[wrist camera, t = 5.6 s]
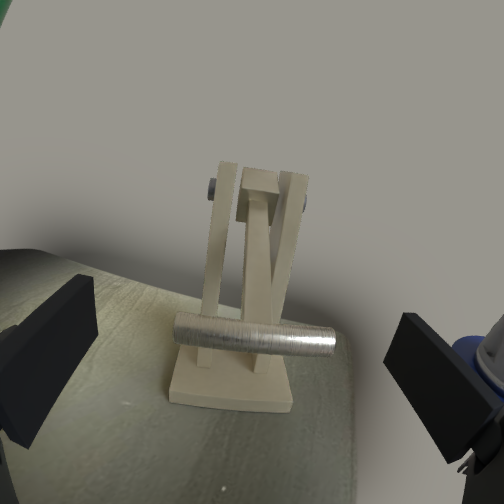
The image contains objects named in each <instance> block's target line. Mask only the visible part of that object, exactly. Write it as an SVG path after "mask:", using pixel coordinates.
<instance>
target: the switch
mask: <svg viewBox="0 0 504 504" xmlns="http://www.w3.org/2000/svg"><path fill="white" fill-rule="evenodd" d="M279 194H280V193H279V185H278V177H277V172H273V171H267V170H261V169H255V168H248V167H244V168H243V172H242V178H241V184H240V190H239V196H238V205H237V214H236V221H238V222H245V223H246V231H245V249H244V266H243V284H242V303H241V320H238V319H230V318H221V317H214V316H206V315H199V314H192V313H185V312H177V314H176V316H175V319H174V325H173V342H174V343H176V344H182V345H188V346H195V347H203V348H210V349H218V350H227V351H236V352H246V353H257V354H269V355H283V356H301V357H330V356H332V355H333V353H334V351H335V347H336V334H335V331H334V329H332V328H328V327H314V326H300V325H288V324H277V323H273V321H272V291H271V264H270V241H269V226H272V222H273V218H274V214H275V210H276V206H277V202H278V198H279Z"/></svg>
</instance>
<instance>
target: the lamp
mask: <svg viewBox="0 0 504 504" xmlns="http://www.w3.org/2000/svg"><path fill="white" fill-rule="evenodd" d="M11 2H12V0H0V27H1V25H2V22H3V20H4V17H5V15H6V13H7V11H8V9H9V6H10V4H11Z"/></svg>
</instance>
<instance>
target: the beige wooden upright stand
mask: <svg viewBox="0 0 504 504" xmlns="http://www.w3.org/2000/svg"><path fill="white" fill-rule="evenodd" d="M236 171H237V163H230V162H224V161H220V162H219V167H218V174H217V179H216V178H211V180H210V183H209V188H208V200H212V201H214V202H213V210H212V217H211V225H210V233H209V242H208V250H207V258H206V267H205V277H204V286H203V297H202V307H201V315H206V316H214V317H217V309H218V300H219V293H220V285H221V277H222V269H223V261H224V254H225V247H226V239H227V232H228V225H229V218H230V210H231V204H232V197H233V191H234V183H235V177H236ZM308 179H309V176H308V175H304V174H298V173H293V172H285V171H280V176H279V182H278V185H279V193H280V194H279V198H278V202H277V206H276V210H275V214H274V218H273V222H272V226H271V228H270V234H269V241H270V264H271V291H272V321H273V323H277V324H279V322H280V317H281V313H282V309H283V304H284V300H285V295H286V291H287V286H288V281H289V277H290V272H291V268H292V262H293V258H294V253H295V248H296V243H297V238H298V232H299V228H300V222H301V217H302V213H303V212H304V210H305V206H306V190H307V185H308ZM169 402H172V403H178V404H184V405H191V406H198V407H206V408H215V409H225V410H236V411H250V412H271V413H289V412H290V410H291V407H292V404H293V398H292V394H291V389H290V385H289V381H288V377H287V372H286V368H285V364H284V360H283V356H282V355H269V354H257V353H246V352H236V351H227V350H218V349H210V348H203V347H195V346H188V345H182V344H181V345H180V349H179V353H178V357H177V360H176V364H175V368H174V372H173V376H172V380H171V384H170V388H169Z"/></svg>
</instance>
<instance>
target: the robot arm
mask: <svg viewBox="0 0 504 504" xmlns="http://www.w3.org/2000/svg"><path fill="white" fill-rule="evenodd" d="M97 336H98V327H97V318H96V308H95V296H94V280H93V277H91V276H86V275H81V274H77V275H76V276H74V277H73V278H72V279H71V280H69V281H68V282H67V283H66V284H65V285H63V286H62V287H61V288H60V289H59V290H57V291H56V292H55V293H54V294H53V295H52V296H50V297H49V298H48V299H47V300H46V301H45V302H44V303H42V304H41V305H40V306H39V307H38V308H37V309H36V310H35V311H33V312H32V313H31V314H30V315H29V316H28V317H27V318H26V319H25V320H24V321H23V322H21V323H20V324H19V325H18V326H17V325H13V326H11V327H9V328H7V329H5V330H3V331H2V332H1V333H0V431H1V429H2V428H3V430H4V431H5V433H6V434H7V436H8V438H9V439H10V440H11V441H13V442H15V443H17V444H19V445H21V446H23V447H24V448H26V449H28V450H29V448H30V446H31V444H32V442H33V440H34V438H35V437H36V435H37V433H38V431H39V429H40V427H41V426H42V424H43V422H44V420H45V419H46V417H47V415H48V413H49V412H50V410H51V408H52V407H53V405H54V403H55V401H56V400H57V398H58V396H59V395H60V393H61V392H62V390H63V388H64V387H65V385H66V383H67V382H68V380H69V379H70V377H71V375H72V374H73V372H74V371H75V369H76V368H77V366H78V365H79V363H80V362H81V360H82V358H83V357H84V355H85V354H86V352H87V351H88V349H89V348H90V346H91V345H92V344H93V342H94V341H95V339H96V338H97ZM383 363H384V364H385V366H386V367H387V369H388V370H389V372H390V373H391V375H392V376H393V378H394V379H395V381H396V382H397V384H398V385H399V387H400V388H401V390H402V391H403V393H404V395H405V396H406V398H407V399H408V401H409V402H410V404H411V405H412V407H413V408H414V410H415V412H416V413H417V415H418V416H419V418H420V419H421V421H422V423H423V424H424V426H425V427H426V429H427V431H428V432H429V434H430V435H431V437H432V439H433V440H434V442H435V444H436V445H437V447H438V449H439V450H440V452H441V454H442V455H443V457H444V459H445V460H446V462H447V464H450V463H452V462H455V461H457V460H459V459H461V458H462V457H463V456H464V455H465V454H466V453H467V451H468V450H469V449H470V448H472V450H473V451H474V452H473V453H472V454H471V456H470V457H469V458H468V459H467V460H466V461H465V462H464V463H463V464H462V465H461V466H460V467H459V468H458V471H457V472H458V473H459V472H460V471H461V470H462V469H463V468H464V467H465V466H468V467H467V468H466V469H465V470H464V471H463V474H466V475H467V476H466V483H465V489H464V495H463V500H462V504H504V403H503V402H502V401H501V399H500V398H499V397H498V396H497V395H496V394H495V393H497V394H498V395H499V396H501V397H502V398H504V314H503V316H502V317H501V318H500V320H499V321H498V322H497V323H496V324H495V325H494V326H493V328H492V329H491V331H490V332H489V333H488V334H487V335H486V337H485V338H484V339H483V340H482V342H481V343H480V344H479V346H478V348H477V350H476V352H475V354H474V365H475V368H476V370H477V372H478V374H479V375H480V376H479V375H478V374H477V373H476V372H475V371H474V370H473V369H472V368H471V367H470V366H469V365H468V364H467V363H466V362H465V361H464V360H463V359H462V358H461V357H460V356H459V355H458V354H457V353H456V352H455V351H454V350H453V349H452V348H451V347H450V346H449V345H448V344H447V343H446V342H445V341H444V340H443V339H442V338H441V337H440V336H439V335H438V334H437V333H436V332H435V331H434V330H433V329H432V328H431V327H430V326H429V325H428V324H427V323H426V322H425V321H424V320H423V319H422V318H420V317H419V316H418V315H417V314H416V313H403V315H402V317H401V320H400V323H399V325H398V328H397V330H396V333H395V335H394V338H393V340H392V342H391V345H390V347H389V350H388V352H387V354H386V356H385V358H384V361H383ZM480 377H481V378H482V379H483V380H482V379H481V378H480ZM492 390H493V391H494V392H495V393H494V392H493V391H492ZM0 504H19V501H18V499H17V496H16V493H15V490H14V487H13V483H12V480H11V477H10V473H9V470H8V466H7V462H6V458H5V453H4V449H3V444H2V441H1V438H0Z"/></svg>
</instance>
